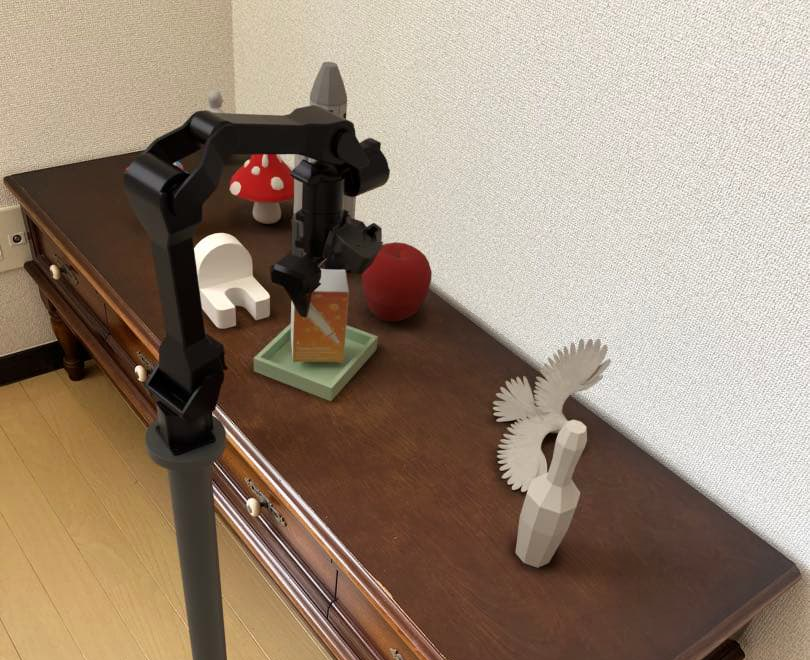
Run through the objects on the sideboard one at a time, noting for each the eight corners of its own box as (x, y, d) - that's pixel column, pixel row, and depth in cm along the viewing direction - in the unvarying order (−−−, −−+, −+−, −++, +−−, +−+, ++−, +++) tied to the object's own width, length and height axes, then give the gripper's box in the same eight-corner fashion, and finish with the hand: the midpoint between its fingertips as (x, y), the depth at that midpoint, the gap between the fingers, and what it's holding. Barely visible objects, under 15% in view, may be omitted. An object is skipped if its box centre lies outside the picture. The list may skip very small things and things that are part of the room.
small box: (292, 363, 126) (293, 290, 117) (290, 339, 131) (291, 267, 122) (344, 363, 128) (349, 291, 119) (340, 339, 132) (345, 268, 123)
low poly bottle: (500, 553, 106) (537, 426, 90) (526, 526, 109) (566, 400, 94) (541, 580, 103) (586, 454, 88) (566, 552, 107) (614, 427, 92)
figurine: (238, 168, 176) (236, 96, 165) (222, 172, 174) (219, 100, 163) (214, 151, 180) (210, 80, 170) (198, 155, 178) (193, 84, 168)
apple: (407, 343, 136) (416, 273, 127) (345, 321, 139) (350, 251, 130) (436, 309, 145) (446, 241, 135) (377, 289, 147) (383, 221, 138)
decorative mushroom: (245, 244, 154) (243, 167, 143) (218, 210, 162) (214, 135, 152) (313, 231, 160) (316, 156, 149) (284, 199, 168) (284, 126, 157)
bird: (472, 481, 127) (525, 510, 114) (433, 395, 120) (484, 415, 107) (575, 413, 132) (637, 433, 119) (542, 326, 125) (604, 337, 112)
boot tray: (331, 401, 124) (331, 388, 122) (253, 371, 127) (253, 358, 125) (376, 349, 134) (378, 336, 133) (304, 322, 138) (304, 309, 136)
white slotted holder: (219, 330, 134) (215, 272, 126) (175, 275, 144) (170, 218, 136) (272, 315, 138) (272, 259, 131) (226, 264, 148) (223, 208, 141)
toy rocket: (359, 270, 151) (373, 73, 127) (320, 283, 147) (328, 81, 123) (323, 242, 157) (331, 48, 133) (285, 254, 153) (286, 55, 128)
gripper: (342, 251, 104) (336, 351, 115) (404, 196, 117) (393, 291, 128) (267, 225, 107) (267, 325, 117) (335, 174, 119) (330, 269, 130)
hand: (318, 302), depth 123 cm, fingers closed on small box, 9 cm apart
